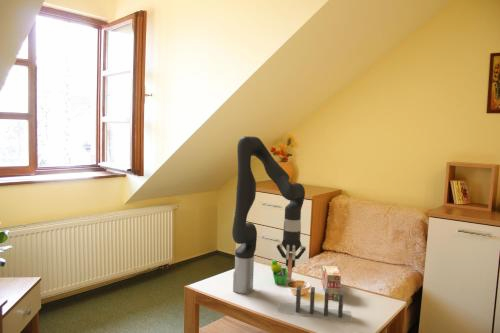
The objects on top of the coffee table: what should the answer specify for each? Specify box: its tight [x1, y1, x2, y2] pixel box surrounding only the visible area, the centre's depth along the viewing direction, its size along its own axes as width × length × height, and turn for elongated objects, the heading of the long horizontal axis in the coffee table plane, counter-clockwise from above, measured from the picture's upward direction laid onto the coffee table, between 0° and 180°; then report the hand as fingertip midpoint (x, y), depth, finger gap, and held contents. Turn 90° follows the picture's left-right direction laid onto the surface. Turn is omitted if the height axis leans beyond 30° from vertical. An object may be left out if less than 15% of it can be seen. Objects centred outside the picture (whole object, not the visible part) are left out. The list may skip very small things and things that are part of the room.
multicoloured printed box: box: [321, 265, 342, 300], centre depth 194 cm, size 21×6×12 cm, turn 176°
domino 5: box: [337, 289, 344, 318], centre depth 167 cm, size 2×5×10 cm, turn 168°
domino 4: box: [323, 288, 330, 316], centre depth 168 cm, size 2×5×10 cm, turn 168°
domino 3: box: [309, 286, 316, 314], centre depth 170 cm, size 2×5×10 cm, turn 168°
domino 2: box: [295, 285, 302, 313], centre depth 171 cm, size 2×5×10 cm, turn 168°
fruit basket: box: [270, 259, 288, 285], centre depth 205 cm, size 11×9×11 cm
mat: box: [277, 302, 352, 323], centre depth 170 cm, size 31×10×1 cm, turn 78°
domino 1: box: [287, 252, 293, 280], centre depth 172 cm, size 2×5×10 cm
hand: (290, 267), depth 172 cm, fingers closed on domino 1, 1 cm apart
